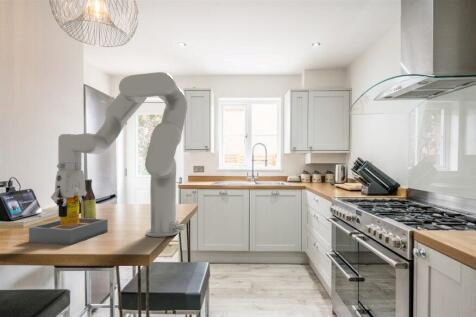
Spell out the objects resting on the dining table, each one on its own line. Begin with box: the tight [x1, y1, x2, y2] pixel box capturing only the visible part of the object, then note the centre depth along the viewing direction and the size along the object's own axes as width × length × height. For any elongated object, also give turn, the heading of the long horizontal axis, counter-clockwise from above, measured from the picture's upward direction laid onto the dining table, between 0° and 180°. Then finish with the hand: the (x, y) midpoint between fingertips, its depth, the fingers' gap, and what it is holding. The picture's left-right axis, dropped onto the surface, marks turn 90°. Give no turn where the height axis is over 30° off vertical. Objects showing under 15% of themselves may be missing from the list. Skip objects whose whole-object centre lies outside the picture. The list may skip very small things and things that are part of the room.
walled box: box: [28, 217, 109, 246], centre depth 107 cm, size 18×18×5 cm
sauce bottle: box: [80, 178, 97, 219], centre depth 132 cm, size 7×6×20 cm
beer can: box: [59, 188, 80, 228], centre depth 107 cm, size 6×6×15 cm
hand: (70, 214), depth 107 cm, fingers closed on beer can, 5 cm apart
